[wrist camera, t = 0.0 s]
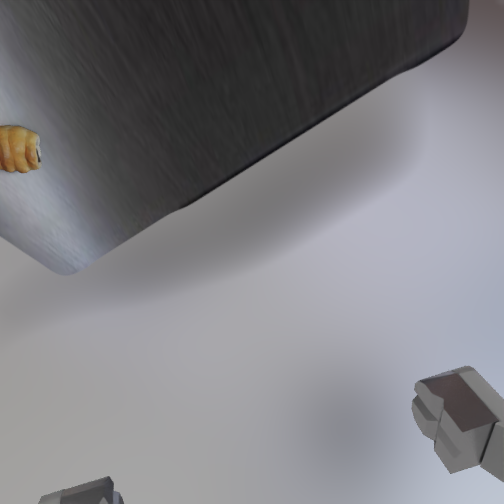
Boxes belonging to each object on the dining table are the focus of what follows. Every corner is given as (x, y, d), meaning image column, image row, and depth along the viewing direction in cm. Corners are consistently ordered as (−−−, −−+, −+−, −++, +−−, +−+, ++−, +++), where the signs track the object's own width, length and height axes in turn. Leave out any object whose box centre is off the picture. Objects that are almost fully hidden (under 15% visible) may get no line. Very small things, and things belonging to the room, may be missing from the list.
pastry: (-29, 162, 57) (-34, 179, 55) (-44, 119, 52) (-49, 136, 50) (45, 163, 60) (43, 179, 58) (37, 123, 56) (36, 138, 53)
